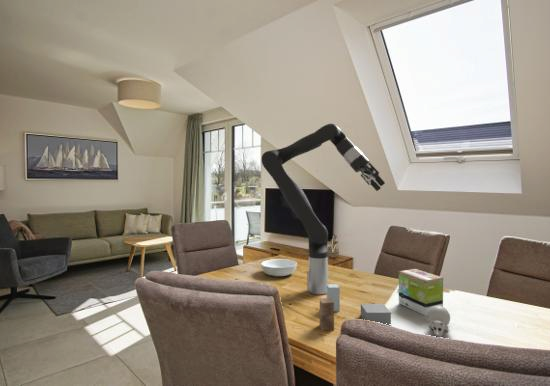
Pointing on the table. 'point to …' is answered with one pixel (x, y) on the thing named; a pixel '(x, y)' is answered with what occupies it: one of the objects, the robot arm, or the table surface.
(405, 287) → the tea box
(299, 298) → the table surface
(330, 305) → the walnut block
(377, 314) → the grey block
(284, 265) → the serving bowl
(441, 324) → the round bodied animal figurine
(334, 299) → the bluegrey block
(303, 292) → the table surface
